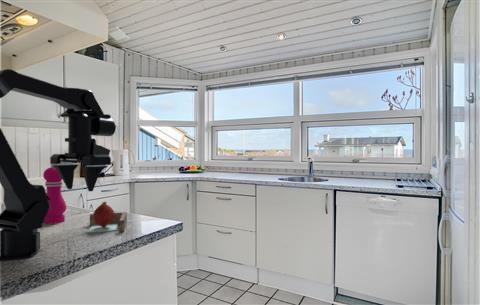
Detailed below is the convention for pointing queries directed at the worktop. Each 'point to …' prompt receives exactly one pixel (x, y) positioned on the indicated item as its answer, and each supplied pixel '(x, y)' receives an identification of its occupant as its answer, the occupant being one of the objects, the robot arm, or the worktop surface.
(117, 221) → the arena
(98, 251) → the worktop surface
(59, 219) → the pepper mill
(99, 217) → the onion
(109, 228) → the pad
